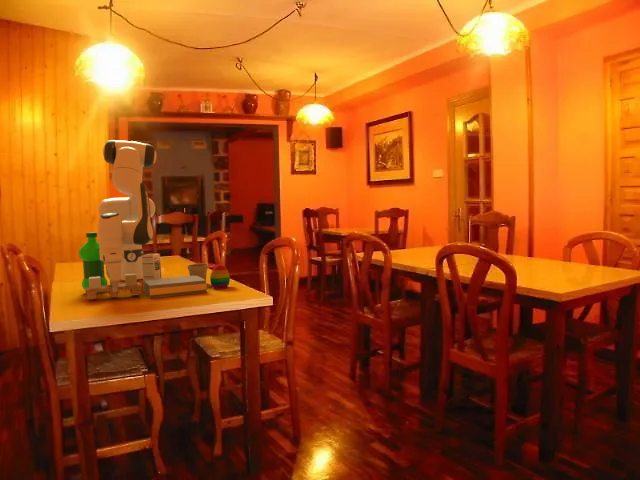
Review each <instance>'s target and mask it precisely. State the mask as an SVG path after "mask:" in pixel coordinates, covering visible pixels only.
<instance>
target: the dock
mask: <svg viewBox="0 0 640 480" xmlns="http://www.w3.org/2000/svg"><path fill="white" fill-rule="evenodd" d="M142 280H143V279H142ZM142 282H144V284H143V292H144V294H145V296H147V297H148V298H149V299H155V298H156V299H158V298H159V299H160V298H165V297H166V298H167V297H177V296H185V295H197V294H204V293H207V290H208V286H207V279H206V280H204V279H203V278H201V277H199V276H197V275H194V276H190V275H185V276H174V277H173V276H172V277H163V278H162V277H161V278H160V279H149V280H143V281H142Z"/></svg>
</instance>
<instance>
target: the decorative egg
mask: <svg viewBox="0 0 640 480" xmlns="http://www.w3.org/2000/svg"><path fill="white" fill-rule="evenodd" d="M229 272H230V271H228V269H227V267H226V266H224V264H222V263H221V264H219V263H218V264H216V265H215V266H214V267H213V268H212V270H211V272H210V277H209V278H210V284H211V286H212V288H213V289H216V290H217V289H218V290H219V289H221V290H222V289H226V288H228V287H229V285H230V281H231V279H230V278H231V277H230V273H229Z"/></svg>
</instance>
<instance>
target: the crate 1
mask: <svg viewBox="0 0 640 480" xmlns="http://www.w3.org/2000/svg"><path fill="white" fill-rule="evenodd" d="M89 288H90V289H97V288H101V277H100V276H97V277H89Z"/></svg>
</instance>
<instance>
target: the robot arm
mask: <svg viewBox="0 0 640 480" xmlns="http://www.w3.org/2000/svg"><path fill="white" fill-rule="evenodd" d="M102 155H103V159H104V161H105V162H106V163H107V164H110V165H113V167H112V174H111V181H112V184H113V187H114V188H115V189H116V190H117V191H118V192H119V193H121V194H124V195H126V196H128V197H111V198H110V197H109V198H106V199H102V200H101V201H100V203H99V205H98V214H99V218H98V226H97V237H98V240H99V243H100V246H99V252H100V260H101V261H104V266H105V271H106V272H105V274H106V276H107V278H108V279H109V283H110V284H109V285H112V291H113V292H117V291H119V290H117V286H118V284H119V282H121V281H125V274H133V273H135V274H136V276H137V280H143V270H142V255H144V249H143V246H146V245H147V244H149V243H150V242H151V241H152V239H153V237H154V230H153V224H152V217H153V216H155V212H156V205H155V202H154V201H153V200H152V199H151V198H150V196H149V190H148V187H147V186H146V184H145V183H143V169H147V168H148V169H149V168H152V167H153V166H154V164H155V163H156V161H157V155H158V154H157V151H156V148H155V147H154V146H153V145H151V144H149V143H142V142H138V141H133V140H131V141H128V140H116V139H110V140H107V141H105V144H104V146H103V148H102Z"/></svg>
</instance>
